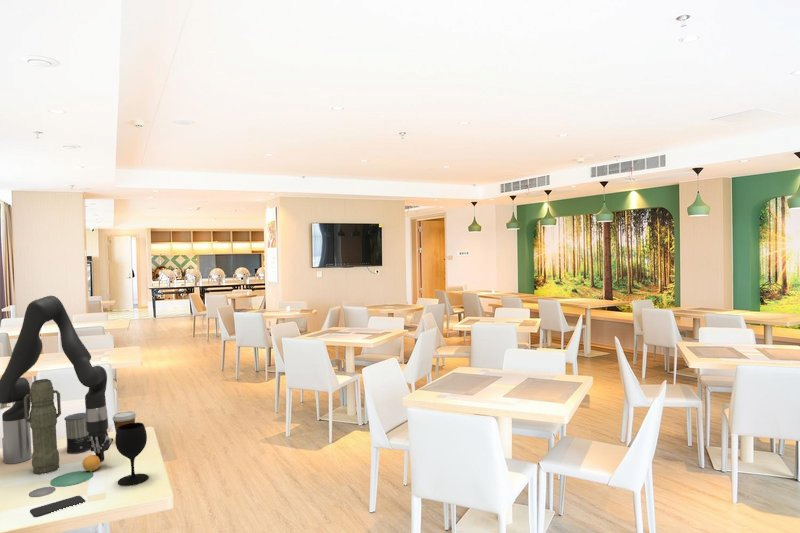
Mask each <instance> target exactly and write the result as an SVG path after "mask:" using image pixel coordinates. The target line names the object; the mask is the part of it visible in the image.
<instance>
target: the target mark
mask: <svg viewBox="0 0 800 533" xmlns="http://www.w3.org/2000/svg"><path fill="white" fill-rule="evenodd" d="M93 476H94V471H86V470H76V471H70V472H67V473H63V474H60V475H58V476H56V477H54V478H52V479H51V480H50V482H49V484H50V485H51V487H57V488H58V487H70V486H75V485H79V484H81V483H85V482H86V481H89V480H91V479H92V478H93Z"/></svg>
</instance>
